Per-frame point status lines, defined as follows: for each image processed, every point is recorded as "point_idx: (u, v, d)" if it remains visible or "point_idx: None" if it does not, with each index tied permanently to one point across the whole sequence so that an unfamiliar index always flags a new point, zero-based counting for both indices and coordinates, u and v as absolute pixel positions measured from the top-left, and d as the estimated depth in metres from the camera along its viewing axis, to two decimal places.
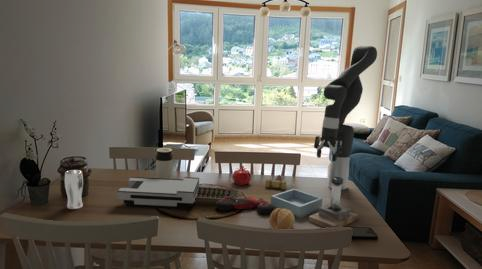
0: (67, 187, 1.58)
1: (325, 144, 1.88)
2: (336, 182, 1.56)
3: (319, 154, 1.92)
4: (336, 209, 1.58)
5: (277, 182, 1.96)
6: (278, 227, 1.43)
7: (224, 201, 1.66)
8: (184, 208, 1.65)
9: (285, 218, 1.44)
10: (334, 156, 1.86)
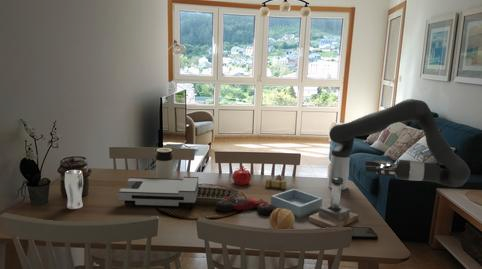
0: (67, 187, 1.58)
1: None
2: (336, 182, 1.56)
3: None
4: (336, 209, 1.58)
5: (277, 182, 1.96)
6: (278, 227, 1.43)
7: (224, 202, 1.66)
8: (186, 207, 1.65)
9: (285, 218, 1.44)
10: None
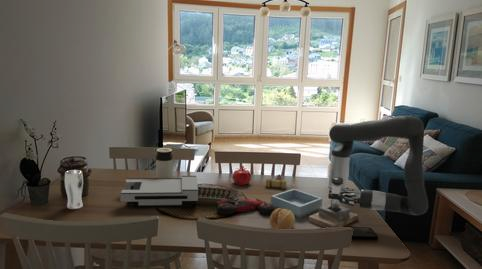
0: (67, 187, 1.58)
1: None
2: (336, 182, 1.56)
3: None
4: (336, 209, 1.58)
5: (277, 181, 1.97)
6: (278, 227, 1.43)
7: (226, 205, 1.63)
8: (189, 206, 1.67)
9: (285, 219, 1.44)
10: None
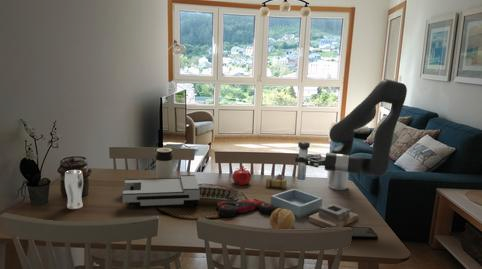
0: (67, 187, 1.58)
1: None
2: (302, 146, 1.64)
3: None
4: (303, 172, 1.66)
5: (277, 181, 1.97)
6: (278, 227, 1.43)
7: (227, 206, 1.61)
8: (191, 205, 1.68)
9: (285, 219, 1.44)
10: None
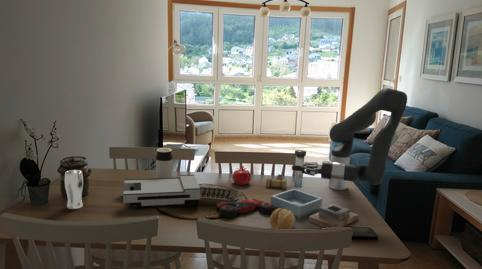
0: (67, 187, 1.58)
1: None
2: (299, 154, 1.65)
3: None
4: (299, 180, 1.68)
5: (277, 181, 1.97)
6: (278, 227, 1.43)
7: (228, 207, 1.60)
8: (191, 205, 1.69)
9: (285, 219, 1.44)
10: None
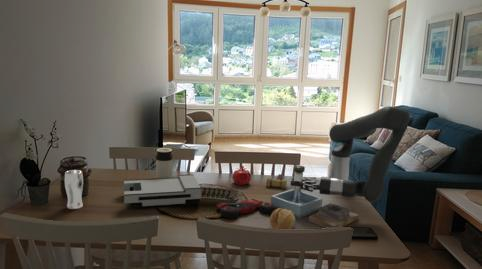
0: (67, 187, 1.58)
1: None
2: (297, 170, 1.67)
3: None
4: (298, 195, 1.69)
5: (278, 181, 1.97)
6: (278, 227, 1.43)
7: (230, 208, 1.59)
8: (192, 204, 1.69)
9: (285, 219, 1.44)
10: None
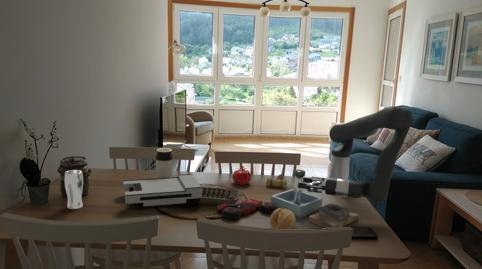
0: (67, 187, 1.58)
1: None
2: (298, 175, 1.66)
3: None
4: (298, 200, 1.70)
5: (278, 181, 1.97)
6: (278, 227, 1.43)
7: (232, 209, 1.58)
8: (193, 203, 1.70)
9: (285, 219, 1.44)
10: None
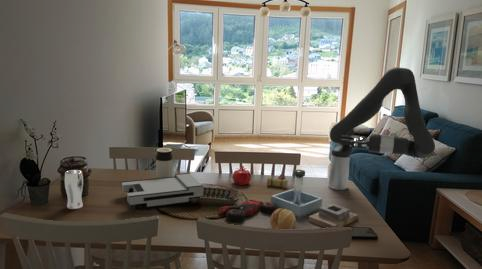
0: (67, 187, 1.58)
1: None
2: (298, 174, 1.67)
3: None
4: (298, 200, 1.70)
5: (278, 181, 1.98)
6: (279, 228, 1.43)
7: (236, 211, 1.56)
8: None
9: (285, 219, 1.44)
10: (347, 139, 1.69)
